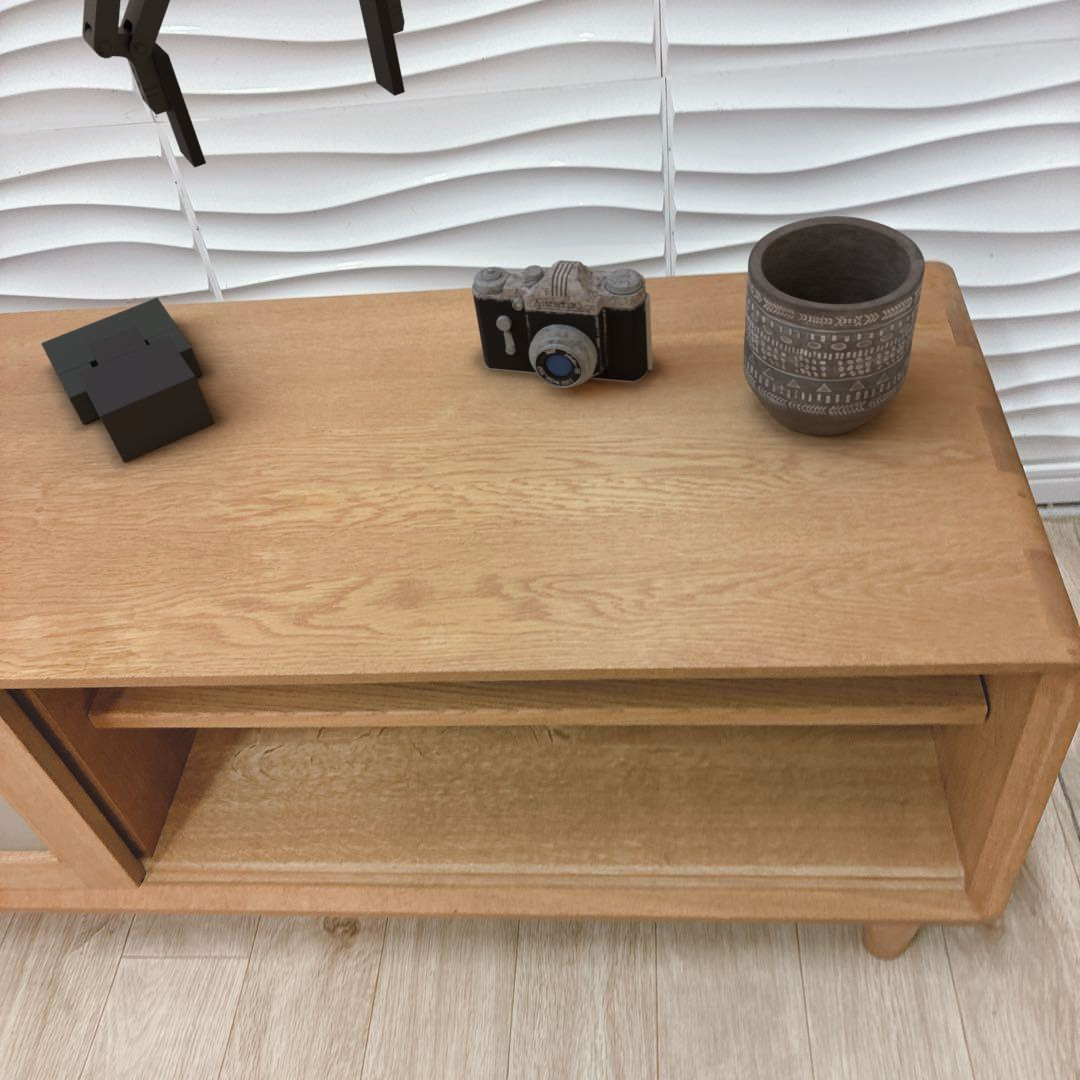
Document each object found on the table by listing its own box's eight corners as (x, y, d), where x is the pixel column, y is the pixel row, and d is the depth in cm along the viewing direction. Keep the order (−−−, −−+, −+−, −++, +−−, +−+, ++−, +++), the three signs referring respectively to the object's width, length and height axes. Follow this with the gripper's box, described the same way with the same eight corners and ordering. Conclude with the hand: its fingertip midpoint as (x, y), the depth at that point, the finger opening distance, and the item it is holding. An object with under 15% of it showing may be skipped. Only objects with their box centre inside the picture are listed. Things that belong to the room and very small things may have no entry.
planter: (847, 338, 90) (864, 199, 81) (932, 424, 82) (962, 279, 73) (715, 381, 88) (717, 242, 79) (789, 472, 80) (801, 330, 71)
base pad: (83, 425, 93) (68, 398, 90) (55, 369, 99) (40, 343, 97) (203, 374, 96) (192, 347, 94) (168, 323, 102) (157, 297, 100)
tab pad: (124, 463, 89) (99, 416, 85) (90, 399, 95) (66, 353, 92) (215, 423, 91) (195, 376, 87) (175, 363, 98) (156, 317, 94)
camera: (467, 391, 90) (447, 289, 83) (490, 343, 95) (474, 242, 88) (640, 408, 87) (635, 303, 79) (656, 357, 91) (653, 253, 84)
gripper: (373, -353, 59) (439, 44, 74) (-95, -252, 51) (86, 166, 66) (438, -344, 54) (494, 78, 69) (-68, -231, 46) (121, 214, 62)
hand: (295, 122), depth 68 cm, fingers open, 13 cm apart
